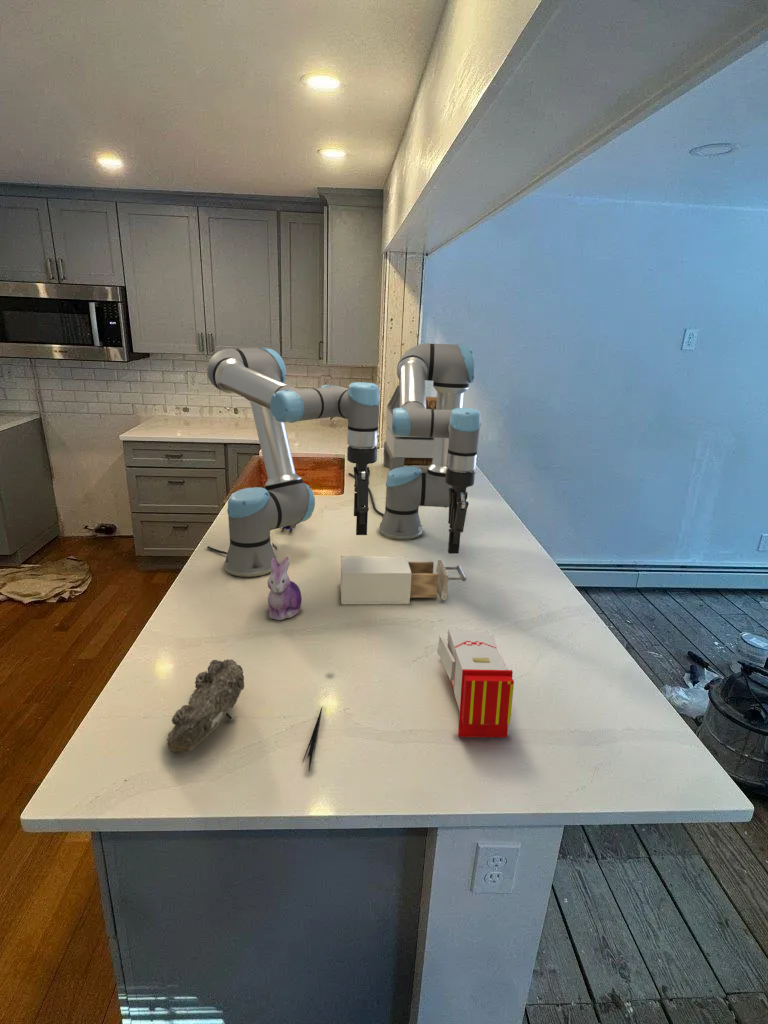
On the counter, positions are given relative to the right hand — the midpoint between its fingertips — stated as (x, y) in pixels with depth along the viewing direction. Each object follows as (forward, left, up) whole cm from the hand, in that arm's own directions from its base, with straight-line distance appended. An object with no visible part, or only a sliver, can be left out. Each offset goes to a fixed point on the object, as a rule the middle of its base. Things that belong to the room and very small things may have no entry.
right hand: (453, 552), depth 155 cm
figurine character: (-68, -10, -13) cm, 70 cm away
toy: (+32, -28, -13) cm, 45 cm away
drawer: (-5, -6, -12) cm, 14 cm away
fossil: (+7, -74, -13) cm, 75 cm away
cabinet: (-12, -17, -13) cm, 25 cm away
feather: (+20, -58, -13) cm, 63 cm away
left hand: (-15, -21, +8) cm, 27 cm away
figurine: (-18, -42, -13) cm, 48 cm away
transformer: (-94, +79, -13) cm, 124 cm away
